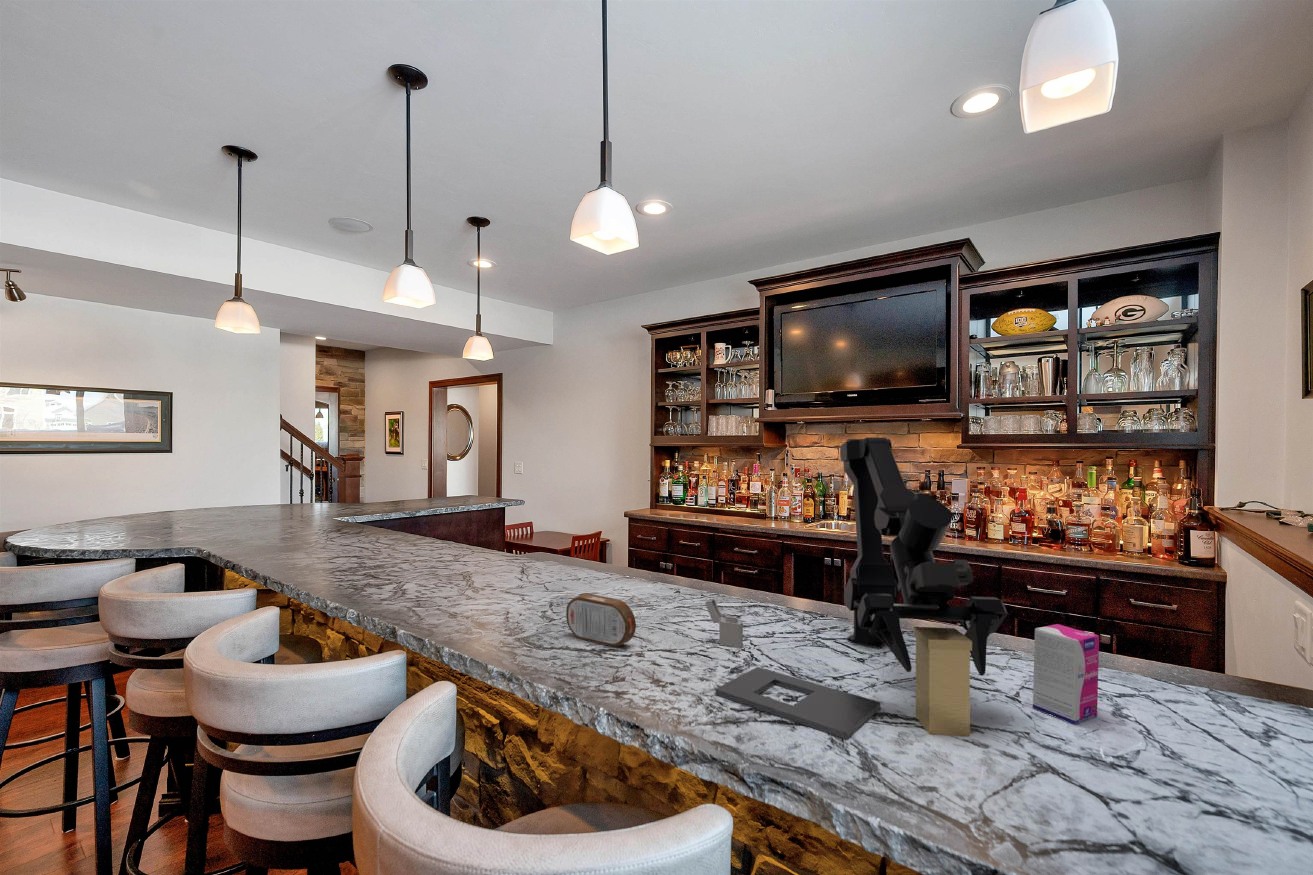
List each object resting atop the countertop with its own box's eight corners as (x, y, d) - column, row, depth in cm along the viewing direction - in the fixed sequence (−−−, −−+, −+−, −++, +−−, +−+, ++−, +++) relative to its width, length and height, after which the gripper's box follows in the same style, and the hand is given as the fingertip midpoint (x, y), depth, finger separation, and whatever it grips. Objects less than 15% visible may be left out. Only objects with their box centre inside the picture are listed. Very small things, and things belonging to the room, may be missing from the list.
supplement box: (1077, 726, 78) (1076, 639, 78) (1031, 708, 83) (1031, 627, 83) (1100, 717, 80) (1100, 633, 81) (1054, 700, 86) (1054, 622, 86)
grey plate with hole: (757, 671, 95) (757, 666, 96) (880, 707, 83) (880, 702, 83) (715, 694, 86) (715, 689, 86) (846, 739, 73) (846, 732, 73)
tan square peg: (913, 715, 80) (913, 626, 80) (954, 717, 80) (954, 628, 80) (928, 734, 75) (928, 639, 75) (972, 737, 74) (972, 641, 75)
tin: (636, 647, 107) (637, 600, 107) (626, 651, 104) (627, 604, 104) (573, 632, 115) (574, 589, 115) (563, 636, 112) (563, 592, 113)
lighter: (743, 645, 108) (743, 602, 109) (739, 648, 107) (740, 604, 107) (708, 638, 112) (708, 597, 112) (704, 641, 110) (704, 599, 110)
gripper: (862, 536, 83) (885, 639, 71) (1000, 539, 81) (1046, 646, 70) (849, 579, 90) (867, 679, 79) (975, 583, 89) (1012, 686, 77)
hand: (945, 672), depth 76 cm, fingers open, 9 cm apart
